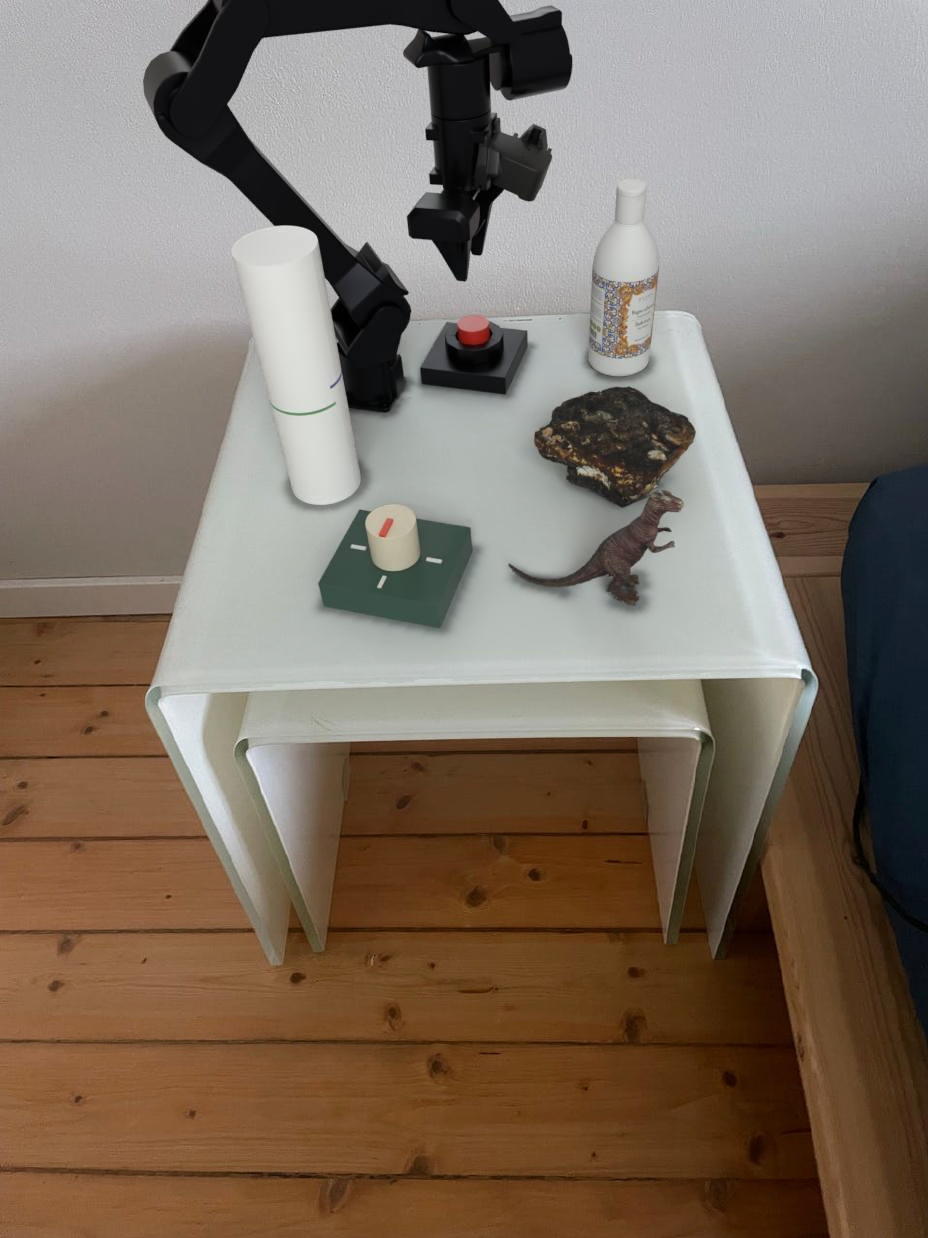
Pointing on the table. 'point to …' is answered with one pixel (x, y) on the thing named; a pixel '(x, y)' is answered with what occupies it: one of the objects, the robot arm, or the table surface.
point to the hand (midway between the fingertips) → (469, 267)
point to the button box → (475, 360)
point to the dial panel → (398, 575)
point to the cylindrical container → (299, 359)
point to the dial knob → (393, 537)
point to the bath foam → (624, 287)
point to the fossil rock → (615, 442)
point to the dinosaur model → (621, 551)
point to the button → (473, 330)
